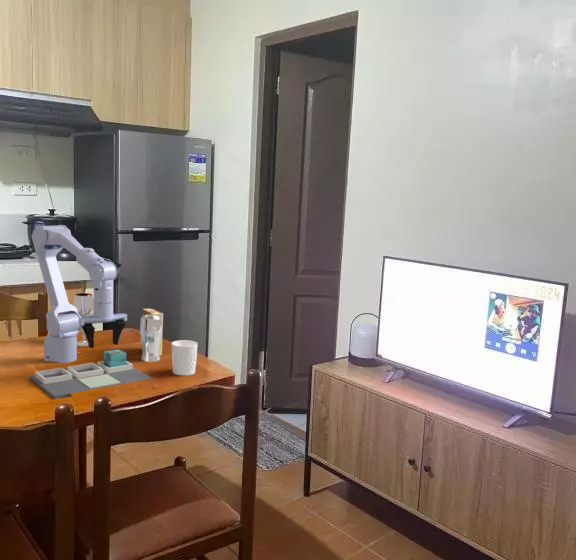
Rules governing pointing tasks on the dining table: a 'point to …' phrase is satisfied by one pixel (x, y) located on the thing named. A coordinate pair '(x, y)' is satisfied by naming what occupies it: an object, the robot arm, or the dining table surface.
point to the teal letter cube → (114, 358)
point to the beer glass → (150, 337)
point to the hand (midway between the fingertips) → (103, 345)
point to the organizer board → (85, 378)
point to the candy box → (155, 312)
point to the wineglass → (84, 310)
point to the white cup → (184, 357)
